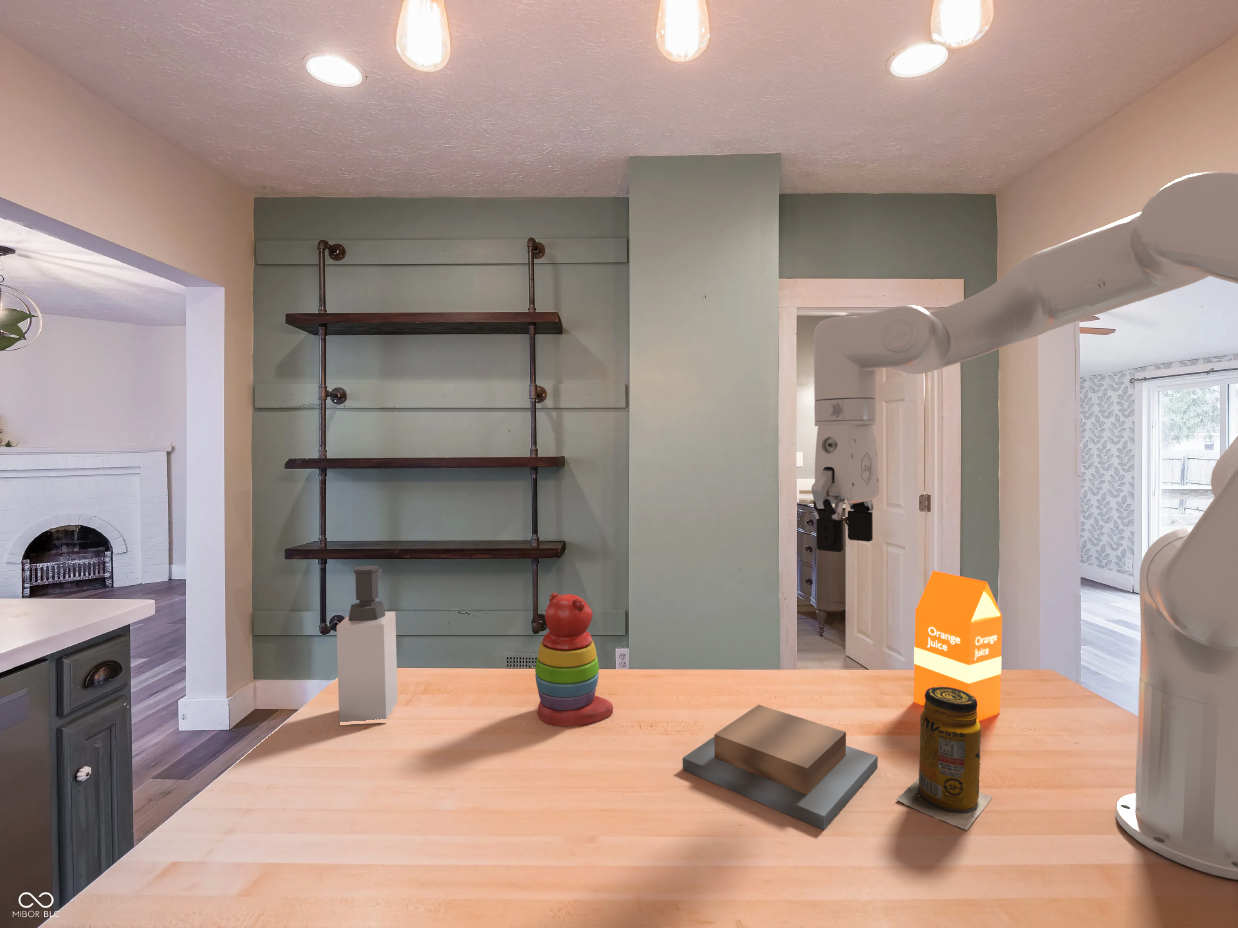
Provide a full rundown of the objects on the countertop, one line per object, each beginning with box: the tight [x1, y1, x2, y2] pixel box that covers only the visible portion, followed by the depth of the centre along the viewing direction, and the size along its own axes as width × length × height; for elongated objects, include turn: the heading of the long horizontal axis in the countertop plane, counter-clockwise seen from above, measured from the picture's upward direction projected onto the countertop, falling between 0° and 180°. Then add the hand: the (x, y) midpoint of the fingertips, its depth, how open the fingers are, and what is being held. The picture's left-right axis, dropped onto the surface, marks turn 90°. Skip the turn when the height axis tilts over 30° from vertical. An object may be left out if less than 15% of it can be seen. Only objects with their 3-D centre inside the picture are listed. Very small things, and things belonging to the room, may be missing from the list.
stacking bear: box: [534, 592, 614, 728], centre depth 92 cm, size 11×10×18 cm
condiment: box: [895, 686, 993, 831], centre depth 70 cm, size 7×8×12 cm
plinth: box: [682, 704, 879, 831], centre depth 77 cm, size 18×16×4 cm
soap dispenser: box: [336, 565, 399, 723], centre depth 93 cm, size 6×9×22 cm
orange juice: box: [913, 570, 1003, 722], centre depth 93 cm, size 8×9×20 cm
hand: (845, 545), depth 82 cm, fingers open, 9 cm apart
